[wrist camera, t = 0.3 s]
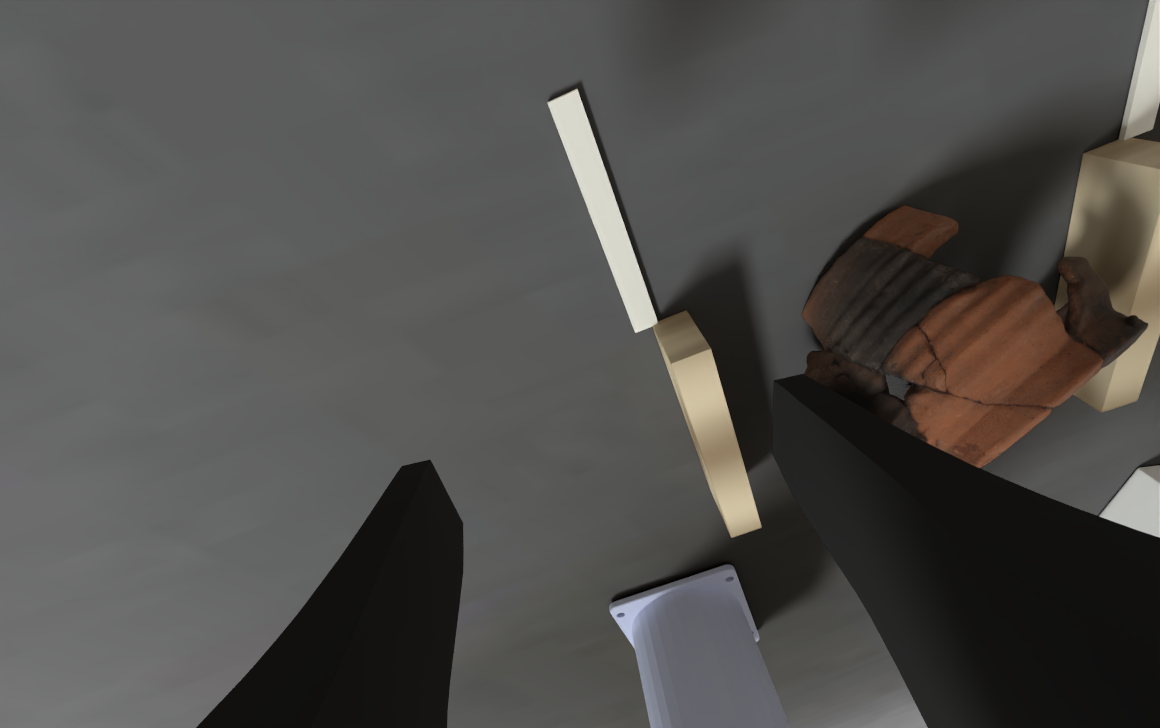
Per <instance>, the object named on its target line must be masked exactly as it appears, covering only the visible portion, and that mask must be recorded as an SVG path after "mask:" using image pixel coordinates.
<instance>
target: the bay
mask: <svg viewBox="0 0 1160 728" xmlns="http://www.w3.org/2000/svg"><path fill="white" fill-rule="evenodd" d="M547 103H548V106H549V108H550V111H551V114H552V116H553V119H554V122H555V124H556V127H557V129H558V132H559V135H560V137H561V140H562V142H563V145H564V148H565V150H566V153H567V156H568V158H569V161H570V163H571V166H572V169H573V171H574V174H575V176H576V179H577V182H578V184H579V187H580V190H581V192H582V195H583V197H584V200H585V203H586V205H587V208H588V211H589V213H590V216H591V218H592V221H593V224H594V226H595V229H596V231H597V234H598V237H599V239H600V242H601V245H602V247H603V250H604V252H605V255H606V258H607V260H608V263H609V265H610V268H611V271H612V273H613V276H614V279H615V281H616V284H617V286H618V289H619V292H620V294H621V297H622V300H623V302H624V305H625V307H626V310H627V313H628V315H629V318H630V320H631V323H632V326H633V328H634V331H635V333H637V332H639V331H642V330H644V329H647V328H650V327H652V326H655V325H657V324H658V321H657V318H656V315H655V312H654V309H653V306H652V303H651V301H650V298H649V295H648V292H647V289H646V286H645V283H644V280H643V277H642V275H641V272H640V269H639V266H638V263H637V260H636V257H635V254H634V251H633V248H632V246H631V243H630V240H629V237H628V234H627V231H626V228H625V225H624V222H623V220H622V217H621V214H620V211H619V208H618V205H617V202H616V199H615V196H614V194H613V191H612V188H611V185H610V182H609V179H608V176H607V173H606V170H605V167H604V165H603V162H602V159H601V156H600V153H599V150H598V147H597V144H596V141H595V139H594V136H593V133H592V130H591V127H590V124H589V121H588V118H587V115H586V112H585V110H584V107H583V104H582V101H581V98H580V95H579V92H578V89H575V90H573V91H570V92H568V93H566V94H564V95H562V96H560V97H557V98H555V99H553V100H551V101H549V102H547ZM1159 103H1160V0H1150V1H1149V5H1148V10H1147V14H1146V19H1145V23H1144V28H1143V32H1142V36H1141V41H1140V45H1139V50H1138V54H1137V59H1136V63H1135V68H1134V72H1133V77H1132V81H1131V86H1130V90H1129V95H1128V99H1127V104H1126V108H1125V113H1124V117H1123V122H1122V126H1121V130H1120V135H1119V139H1118V140H1127V139H1129V138H1132V137H1134V136H1137V135H1139V134H1142V133H1144V132H1147V131H1149V130H1152V129H1153V127H1154V123H1155V119H1156V115H1157V111H1158V107H1159Z"/></svg>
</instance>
